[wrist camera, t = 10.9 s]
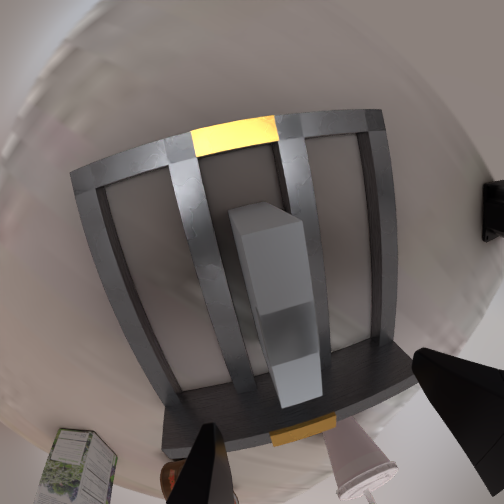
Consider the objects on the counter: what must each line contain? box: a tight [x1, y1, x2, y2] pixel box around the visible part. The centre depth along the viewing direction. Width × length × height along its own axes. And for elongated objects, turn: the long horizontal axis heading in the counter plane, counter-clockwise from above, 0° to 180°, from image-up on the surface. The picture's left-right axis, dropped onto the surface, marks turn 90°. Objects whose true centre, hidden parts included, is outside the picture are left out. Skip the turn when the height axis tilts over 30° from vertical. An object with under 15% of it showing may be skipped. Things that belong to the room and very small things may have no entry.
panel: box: [228, 201, 323, 408], centre depth 15 cm, size 2×10×7 cm, turn 12°
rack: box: [70, 109, 418, 459], centre depth 15 cm, size 20×20×6 cm
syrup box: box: [34, 429, 117, 504], centre depth 14 cm, size 6×6×14 cm
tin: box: [160, 459, 239, 504], centre depth 21 cm, size 15×3×8 cm, turn 23°
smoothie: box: [322, 416, 399, 504], centre depth 18 cm, size 6×6×14 cm
